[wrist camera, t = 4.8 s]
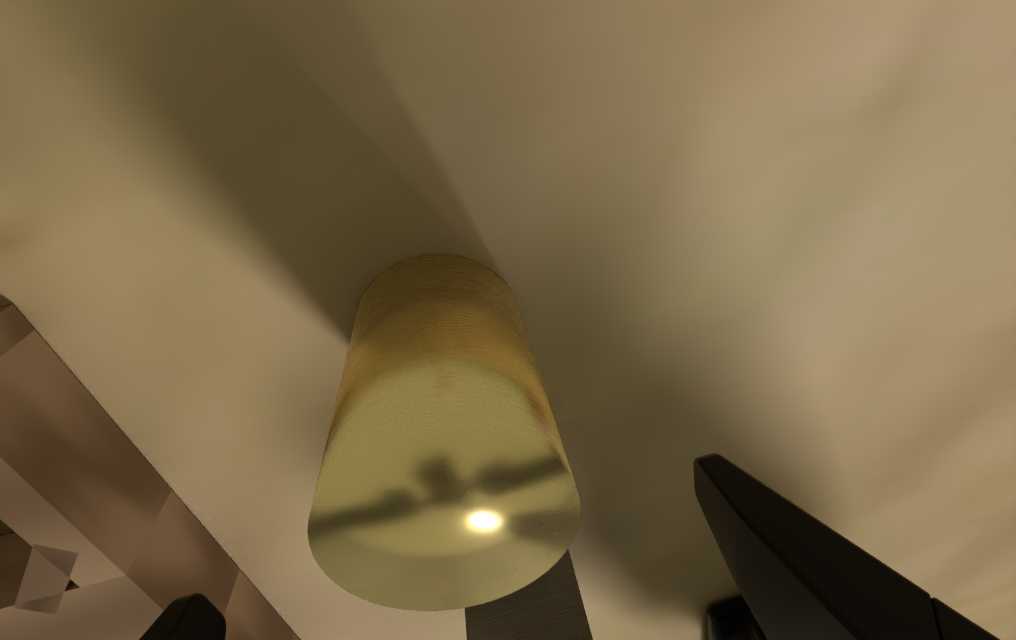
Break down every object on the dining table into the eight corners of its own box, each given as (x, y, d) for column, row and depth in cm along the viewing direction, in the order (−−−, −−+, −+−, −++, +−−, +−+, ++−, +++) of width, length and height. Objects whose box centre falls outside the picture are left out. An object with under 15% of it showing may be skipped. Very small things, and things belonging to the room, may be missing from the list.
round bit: (533, 371, 16) (596, 572, 10) (388, 410, 16) (368, 634, 10) (499, 234, 14) (556, 395, 8) (328, 280, 14) (254, 476, 8)
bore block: (310, 652, 22) (295, 734, 20) (110, 707, 22) (69, 796, 20) (13, 303, 13) (-90, 373, 10) (-334, 396, 13) (-523, 489, 10)
